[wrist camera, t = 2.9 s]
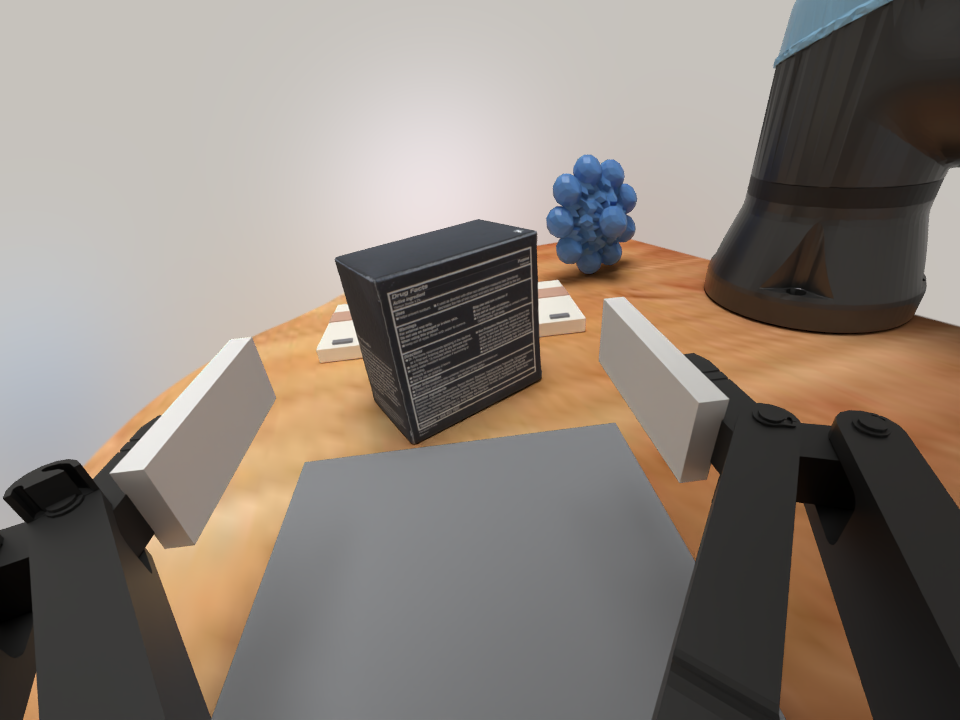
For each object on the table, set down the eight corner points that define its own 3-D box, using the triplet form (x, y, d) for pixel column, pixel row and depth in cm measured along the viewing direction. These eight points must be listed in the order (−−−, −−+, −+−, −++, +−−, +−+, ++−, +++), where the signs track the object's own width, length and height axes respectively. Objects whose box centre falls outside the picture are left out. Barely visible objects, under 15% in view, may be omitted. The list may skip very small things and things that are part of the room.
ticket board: (558, 291, 43) (558, 278, 42) (585, 331, 35) (586, 316, 34) (341, 316, 42) (337, 303, 41) (320, 362, 34) (315, 348, 33)
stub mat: (614, 427, 25) (615, 422, 24) (784, 728, 13) (788, 723, 13) (306, 467, 24) (304, 462, 24) (181, 823, 12) (174, 819, 12)
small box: (490, 346, 34) (479, 214, 29) (545, 379, 30) (544, 229, 24) (370, 399, 29) (329, 251, 24) (413, 448, 25) (374, 279, 19)
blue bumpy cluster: (575, 299, 41) (580, 164, 34) (534, 280, 46) (532, 159, 39) (659, 270, 45) (677, 146, 39) (613, 256, 50) (622, 144, 44)
